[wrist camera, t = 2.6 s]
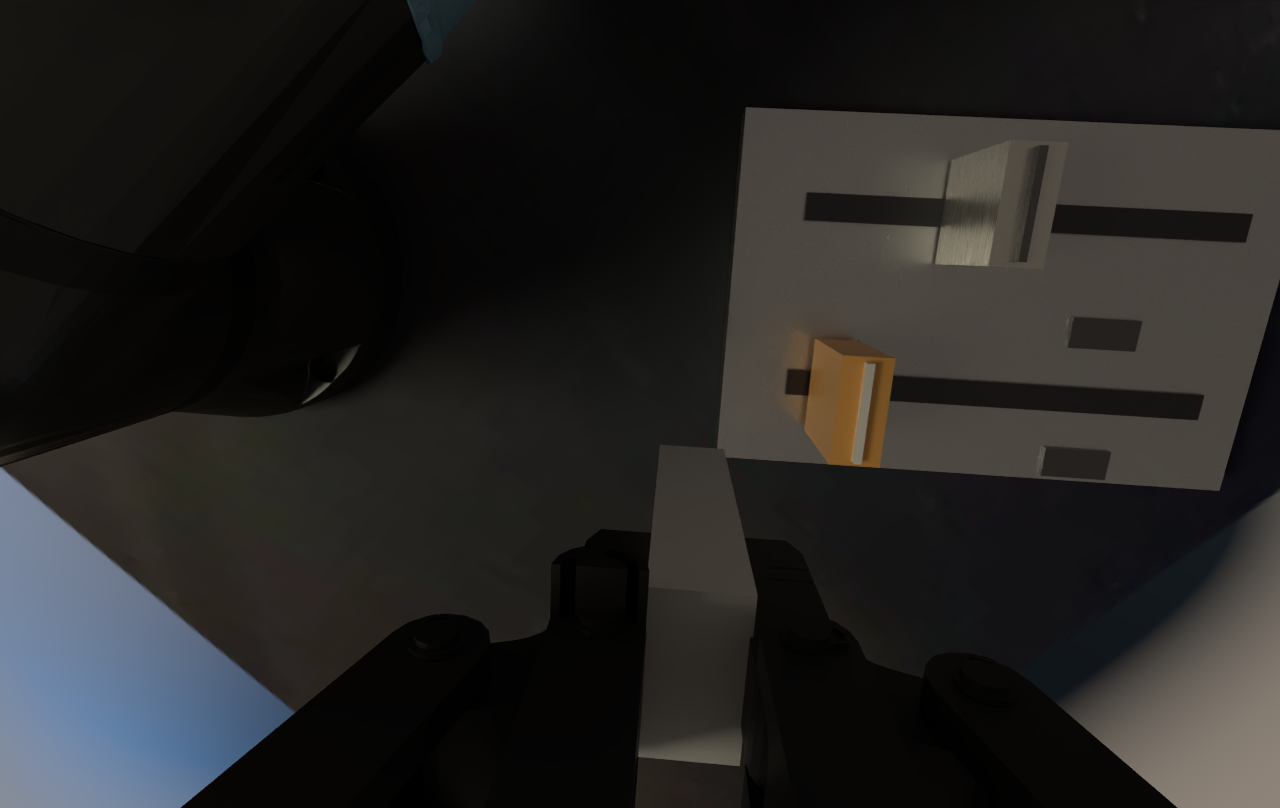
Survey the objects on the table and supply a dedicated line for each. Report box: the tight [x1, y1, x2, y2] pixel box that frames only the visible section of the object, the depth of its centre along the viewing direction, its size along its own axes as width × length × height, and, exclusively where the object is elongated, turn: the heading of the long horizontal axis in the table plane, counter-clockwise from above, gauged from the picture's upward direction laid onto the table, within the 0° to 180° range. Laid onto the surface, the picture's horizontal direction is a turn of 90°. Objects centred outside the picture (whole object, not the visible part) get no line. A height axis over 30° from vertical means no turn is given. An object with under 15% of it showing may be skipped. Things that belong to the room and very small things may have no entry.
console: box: [714, 107, 1280, 491], centre depth 27 cm, size 24×16×8 cm, turn 87°
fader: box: [804, 338, 896, 468], centre depth 27 cm, size 2×4×5 cm, turn 177°
